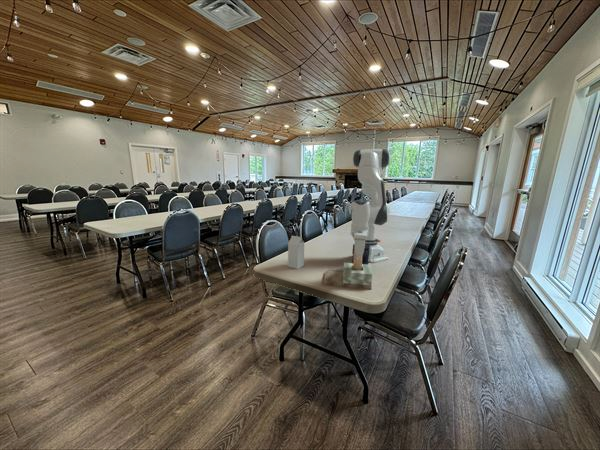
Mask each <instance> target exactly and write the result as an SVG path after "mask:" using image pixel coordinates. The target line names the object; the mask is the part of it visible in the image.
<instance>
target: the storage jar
mask: <svg viewBox="0 0 600 450" xmlns="http://www.w3.org/2000/svg"><path fill="white" fill-rule="evenodd" d="M354 245H355V243H353V244H352V254H351V255H352V259H351V263H353V259H354ZM369 253H370V246H369V245H367V244H365V247H364V252H363V255H362V264H368V265H370V262H368V259H369Z"/></svg>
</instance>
